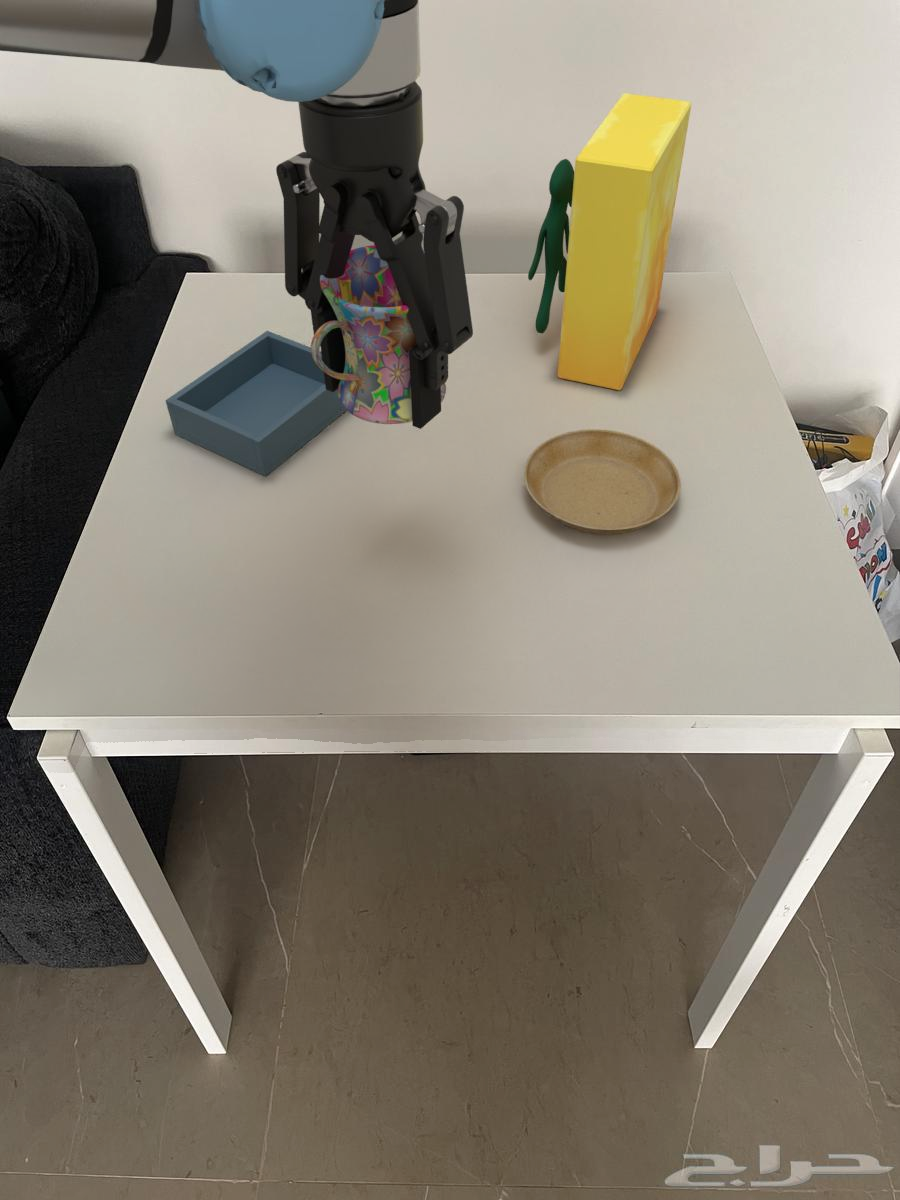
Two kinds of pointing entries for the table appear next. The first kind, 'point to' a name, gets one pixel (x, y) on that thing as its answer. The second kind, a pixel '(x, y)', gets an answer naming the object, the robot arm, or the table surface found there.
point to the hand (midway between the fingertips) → (382, 399)
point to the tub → (257, 404)
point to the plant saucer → (602, 480)
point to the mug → (370, 340)
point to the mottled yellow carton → (612, 237)
